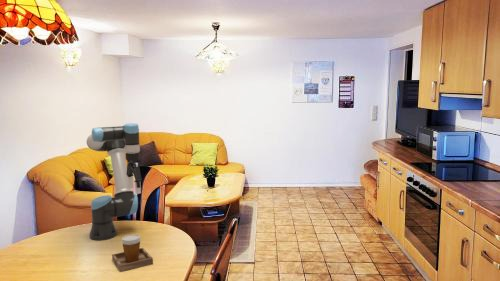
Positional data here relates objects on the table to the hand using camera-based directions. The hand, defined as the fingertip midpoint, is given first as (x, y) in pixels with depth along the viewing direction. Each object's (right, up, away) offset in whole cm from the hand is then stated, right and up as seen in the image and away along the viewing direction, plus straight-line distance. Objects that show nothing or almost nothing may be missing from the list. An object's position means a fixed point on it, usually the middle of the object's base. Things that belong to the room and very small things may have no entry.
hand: (134, 190), depth 220 cm
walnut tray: (+3, -34, -16) cm, 38 cm away
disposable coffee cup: (+3, -33, -15) cm, 37 cm away
